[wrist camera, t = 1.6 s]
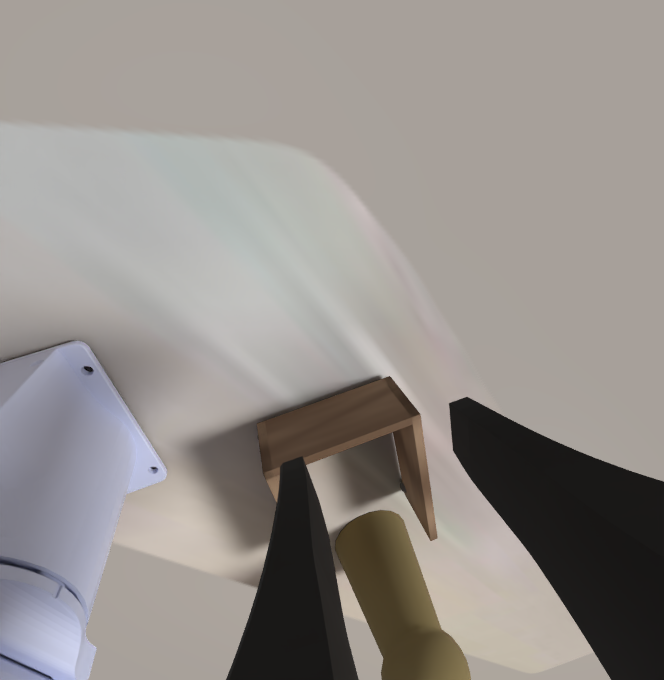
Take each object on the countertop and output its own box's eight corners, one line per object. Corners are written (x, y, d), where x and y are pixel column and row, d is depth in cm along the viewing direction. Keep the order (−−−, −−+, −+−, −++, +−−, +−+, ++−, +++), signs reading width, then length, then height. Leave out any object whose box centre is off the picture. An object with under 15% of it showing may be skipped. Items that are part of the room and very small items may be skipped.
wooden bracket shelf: (252, 421, 22) (258, 475, 18) (391, 372, 23) (424, 412, 19) (300, 532, 27) (312, 591, 23) (411, 487, 28) (440, 536, 24)
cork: (392, 559, 32) (465, 729, 22) (327, 566, 30) (376, 757, 20) (414, 508, 29) (505, 673, 20) (345, 512, 27) (410, 697, 18)
